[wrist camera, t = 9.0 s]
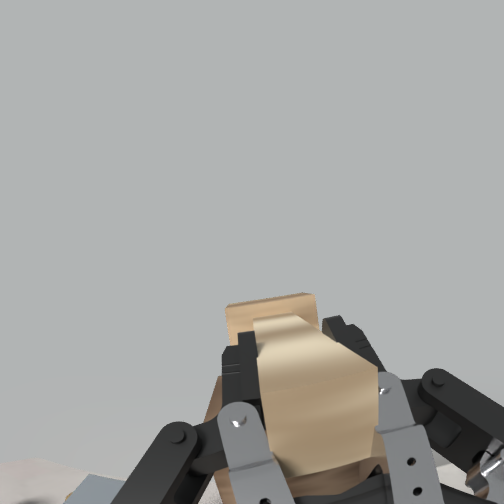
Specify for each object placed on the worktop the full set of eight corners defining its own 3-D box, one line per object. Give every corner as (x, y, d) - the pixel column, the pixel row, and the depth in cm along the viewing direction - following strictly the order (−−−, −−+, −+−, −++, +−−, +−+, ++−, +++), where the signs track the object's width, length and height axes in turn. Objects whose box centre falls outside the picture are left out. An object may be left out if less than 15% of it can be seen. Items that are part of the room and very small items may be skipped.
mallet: (235, 344, 25) (229, 303, 26) (308, 333, 26) (302, 292, 26) (204, 485, 6) (170, 363, 6) (431, 430, 6) (435, 311, 6)
